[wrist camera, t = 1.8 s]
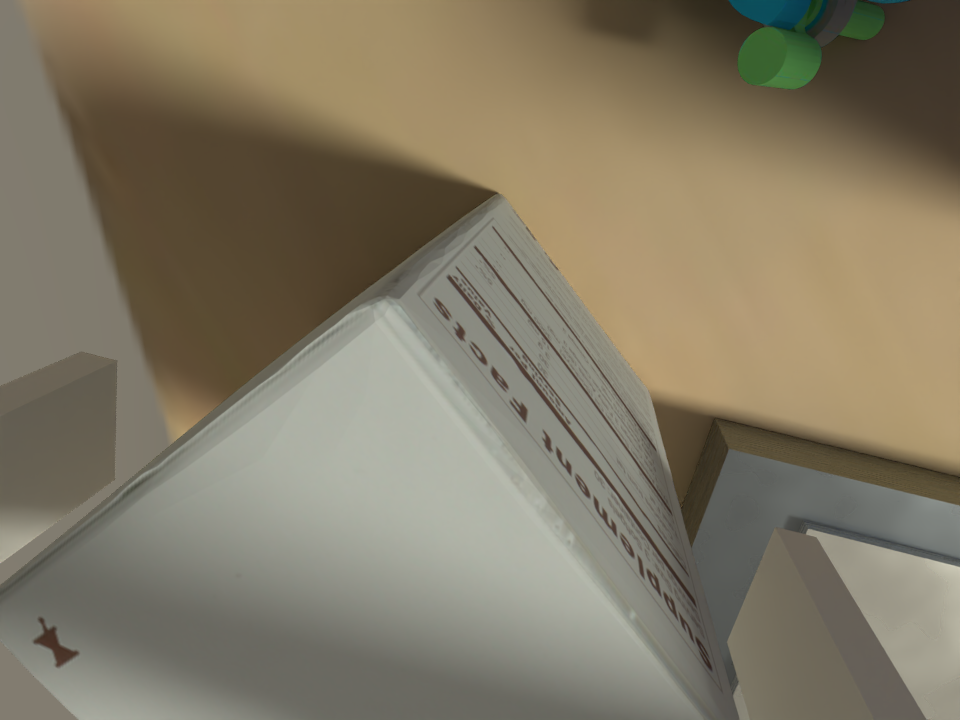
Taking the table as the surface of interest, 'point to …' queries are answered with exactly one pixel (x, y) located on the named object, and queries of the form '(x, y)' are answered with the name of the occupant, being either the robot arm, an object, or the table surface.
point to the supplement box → (396, 526)
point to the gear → (799, 36)
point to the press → (836, 544)
